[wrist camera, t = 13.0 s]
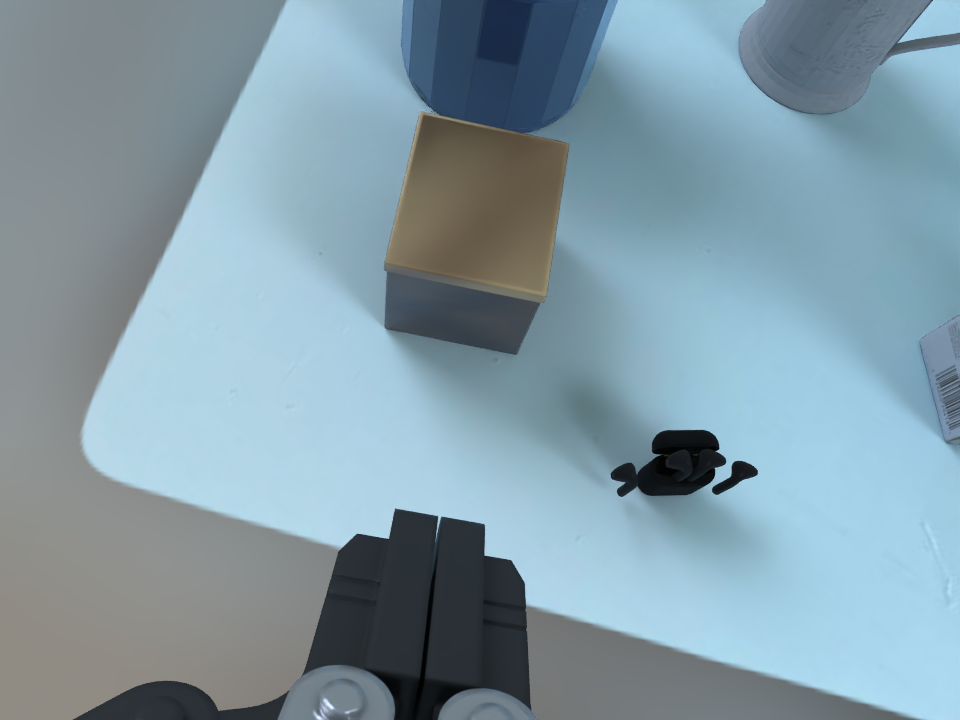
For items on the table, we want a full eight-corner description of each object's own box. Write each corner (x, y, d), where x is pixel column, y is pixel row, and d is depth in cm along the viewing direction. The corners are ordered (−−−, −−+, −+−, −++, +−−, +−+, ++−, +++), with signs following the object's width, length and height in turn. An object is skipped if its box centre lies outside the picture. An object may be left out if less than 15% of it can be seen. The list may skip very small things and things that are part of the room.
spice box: (381, 330, 43) (384, 263, 36) (412, 196, 46) (420, 110, 39) (518, 357, 43) (546, 296, 36) (539, 222, 46) (569, 142, 39)
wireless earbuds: (596, 500, 41) (625, 477, 36) (592, 450, 42) (620, 422, 37) (731, 497, 42) (776, 475, 37) (724, 448, 43) (767, 421, 38)
